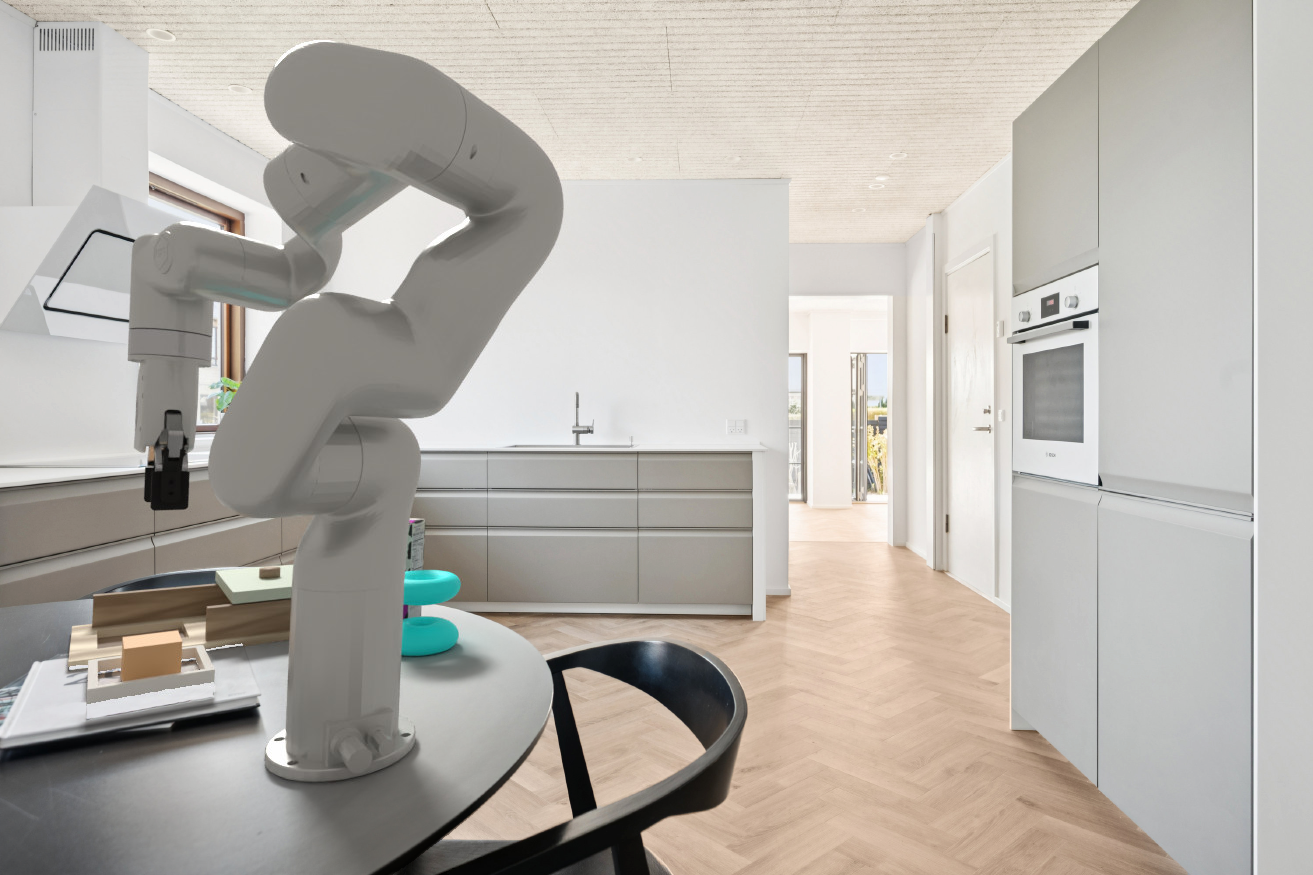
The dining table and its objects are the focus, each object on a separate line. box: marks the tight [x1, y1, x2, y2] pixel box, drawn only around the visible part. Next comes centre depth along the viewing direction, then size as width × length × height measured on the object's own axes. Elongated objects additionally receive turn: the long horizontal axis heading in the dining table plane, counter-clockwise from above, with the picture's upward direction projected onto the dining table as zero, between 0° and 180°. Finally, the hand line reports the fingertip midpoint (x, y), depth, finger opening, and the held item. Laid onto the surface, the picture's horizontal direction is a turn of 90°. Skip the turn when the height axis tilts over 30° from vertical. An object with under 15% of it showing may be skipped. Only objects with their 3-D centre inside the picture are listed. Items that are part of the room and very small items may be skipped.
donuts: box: [401, 569, 462, 657], centre depth 93 cm, size 10×10×10 cm
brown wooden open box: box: [67, 583, 291, 668], centre depth 90 cm, size 17×27×7 cm, turn 130°
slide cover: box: [214, 564, 293, 604], centre depth 95 cm, size 16×11×3 cm
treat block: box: [120, 630, 182, 682], centre depth 74 cm, size 5×5×5 cm
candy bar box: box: [403, 517, 426, 619], centre depth 103 cm, size 11×5×16 cm, turn 84°
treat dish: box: [86, 645, 216, 705], centre depth 74 cm, size 11×11×3 cm
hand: (165, 505), depth 74 cm, fingers open, 9 cm apart
